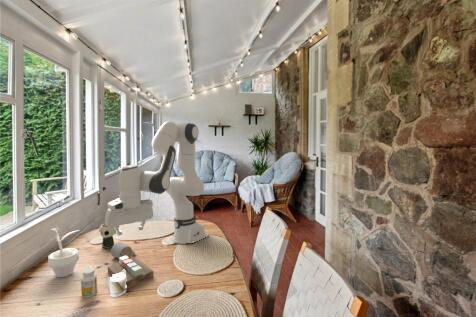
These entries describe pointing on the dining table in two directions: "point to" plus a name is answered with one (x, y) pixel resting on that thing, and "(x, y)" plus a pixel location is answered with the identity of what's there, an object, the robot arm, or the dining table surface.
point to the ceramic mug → (121, 250)
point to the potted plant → (63, 257)
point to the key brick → (126, 263)
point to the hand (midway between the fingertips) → (130, 232)
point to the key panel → (131, 281)
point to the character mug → (107, 235)
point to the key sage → (136, 271)
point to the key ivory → (122, 259)
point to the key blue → (130, 266)
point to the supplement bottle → (89, 283)
